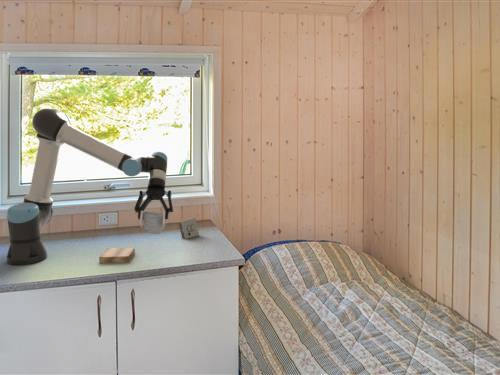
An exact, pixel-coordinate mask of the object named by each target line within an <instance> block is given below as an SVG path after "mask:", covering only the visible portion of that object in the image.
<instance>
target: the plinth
mask: <svg viewBox="0 0 500 375" xmlns="http://www.w3.org/2000/svg"><path fill="white" fill-rule="evenodd" d="M135 250H136V249H135V247H113V248H106V249H105V250H104V251H103V252H102V253H101V254H100V256H98V258H99V259H98V260H99V264H106V263H111V264H112V263H129V262H130V261H131V259H132V258H133V256H134V255H135V254H136V251H135Z"/></svg>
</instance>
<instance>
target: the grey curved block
mask: <svg viewBox="0 0 500 375" xmlns="http://www.w3.org/2000/svg"><path fill="white" fill-rule="evenodd" d="M162 222H163V212H161V211H155V210H147V211H143V225H142V226H143V232H144V233H149V234H155V235H160V234H163V233H165V227H163V224H162Z"/></svg>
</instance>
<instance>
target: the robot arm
mask: <svg viewBox="0 0 500 375" xmlns="http://www.w3.org/2000/svg"><path fill="white" fill-rule="evenodd" d="M31 121H32V127H33V129H34V130H35V132H36V138H37V139H38V141H39V142H38V147H37V151H36V152H37V153H36V157H35V162H34V168H33V173H32V177H31V178H32V179H31V181H30V188H29V192H28V194H26V195H25V196H24V198H23V202H21V203H17V204H13V205H11V206H10V207H8V209H7V212H6V213H7V214H6V219H7V226H8V228H7V229H8V237H9V246H8V250H7V253H6V263H7V264H8V265H12V266H24V265H25V266H26V265H31V264H36V263H38V262H42V261H44V260H46V259H47V258H48V252H47V249H46V247H45V245H44V243H43V241H42V234H41V232H42V231H41V228H42V227H43V226H45V225H47V224H48V223H49V222H50V221H51V220H52V218H53V215H54V208H53V203H54V199H53V198H52V197H51V194H52V189H53V184H54V180H55V174H56V170H57V166H58V159H59V155H60V151H61V146H62V145H63V144H66V145H68V146H70V147H72V148H74V149H76V150H78V151H81V152H82V153H85V154H86V155H87V156H90V157H92V158H94V159H97V160H99V161H101V162H103V163H105V164H107V165H109V166H111V167H113V168H114V169H115V168H116V170H117V169H118V170H119V171H120V172H122V173H124V174H125V175H126V176H128V177H135V176H138V175H139V174H140V173H146V174H147V173H148V182H147V188H146V190H145V191H143V190H140V191H139V196H138V198H137V201H136V204H135V205H134V211H135V213H137V218H138V220H139V227H140V228H143V226H144V225H143V212H145V209H146V208H147V207H148V205H149V204H150V203H151V202H152V201H159V202H160V203H161V206H162V207H163V209H164V210H163V212H162V213H163V222H162V224H163V227H164V228H165V227H166V220H168V219H169V213H173V212H174V208H173V203H172V191H171V190H168V191H166V190H165V189H166V182H167V181H166V180H167V178H166V177H167V169H168V155H166V154H165V153H164V152H162V151H155V152H152V153H151V155H150V156H148V155H147V156H143V155H133V154H128V153H126V152H124V151H122V150H120V149H119V148H116V147H115V146H114V147H113V146H112V145H111V144H108V143H106V142H104V141H102V140H100V139H98V138H96V137H94V136H92V135H91V134H88V133H86V132H83V131H82V130H80V129H78V128H76V127H75V126H72V121H71V118H70V116H69V115H68V113H65V112H64V111H63V110H60V109H56V108H41V109H39V110H37V112H35V114H34V115H33V117H32V120H31ZM145 196H146V198H145ZM165 196H166V197H167V200H168V201H167V202H168V206H169V207H168V206H167V204H166V202H165V200H164V198H163V197H165ZM144 198H145V199H144ZM143 200H144V201H143Z"/></svg>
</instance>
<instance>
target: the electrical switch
mask: <svg viewBox="0 0 500 375" xmlns="http://www.w3.org/2000/svg"><path fill="white" fill-rule="evenodd" d="M178 226H179V229H180V235H181V239H185V240H188V239H190V238H195V237H198V236H199V235H200V233H199V229H198V223H197V219H196V217H193V218H192V217H191V218H188V219H185V220H184V219H183V220H181V221H180V222H178Z"/></svg>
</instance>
